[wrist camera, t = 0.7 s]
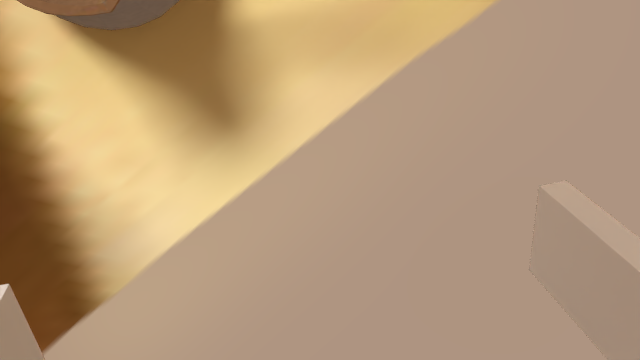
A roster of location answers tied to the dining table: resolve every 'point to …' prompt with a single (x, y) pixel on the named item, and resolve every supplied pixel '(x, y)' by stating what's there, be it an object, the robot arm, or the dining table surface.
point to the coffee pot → (103, 11)
